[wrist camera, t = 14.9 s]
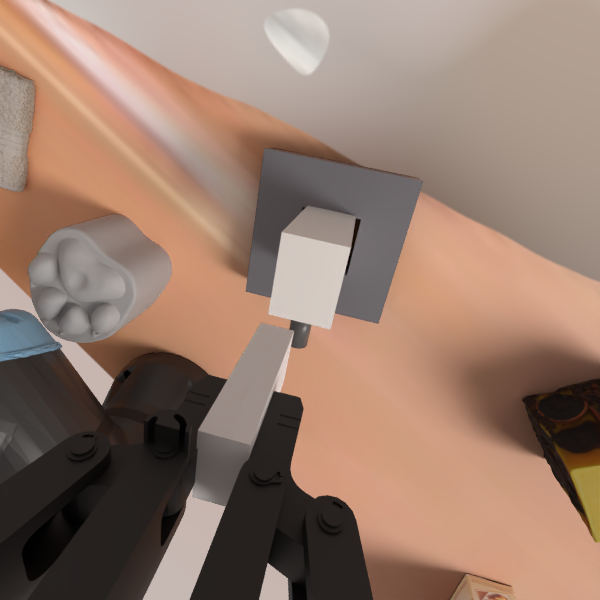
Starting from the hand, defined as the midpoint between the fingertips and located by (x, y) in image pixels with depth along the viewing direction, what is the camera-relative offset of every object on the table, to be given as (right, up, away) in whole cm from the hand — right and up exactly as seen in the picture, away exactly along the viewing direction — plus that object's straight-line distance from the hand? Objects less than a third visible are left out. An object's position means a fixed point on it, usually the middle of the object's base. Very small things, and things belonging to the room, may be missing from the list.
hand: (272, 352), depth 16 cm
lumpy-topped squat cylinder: (-20, +6, +27) cm, 34 cm away
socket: (+4, +9, +21) cm, 23 cm away
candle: (+33, -11, +24) cm, 42 cm away
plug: (+4, +7, +21) cm, 22 cm away
